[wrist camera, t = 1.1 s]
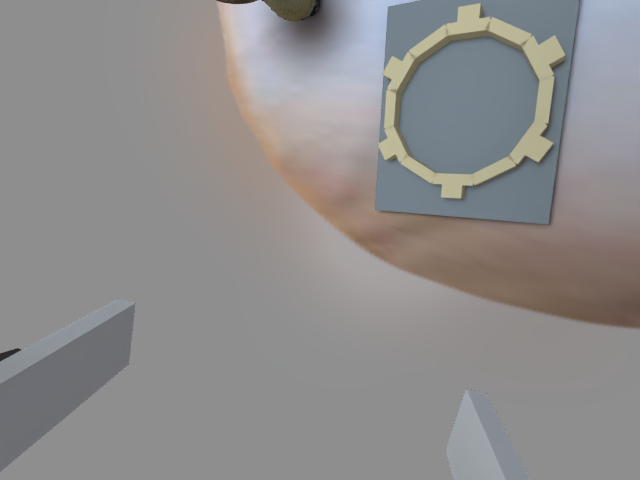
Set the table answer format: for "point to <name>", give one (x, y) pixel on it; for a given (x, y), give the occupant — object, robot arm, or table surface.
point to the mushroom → (287, 7)
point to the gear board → (474, 107)
